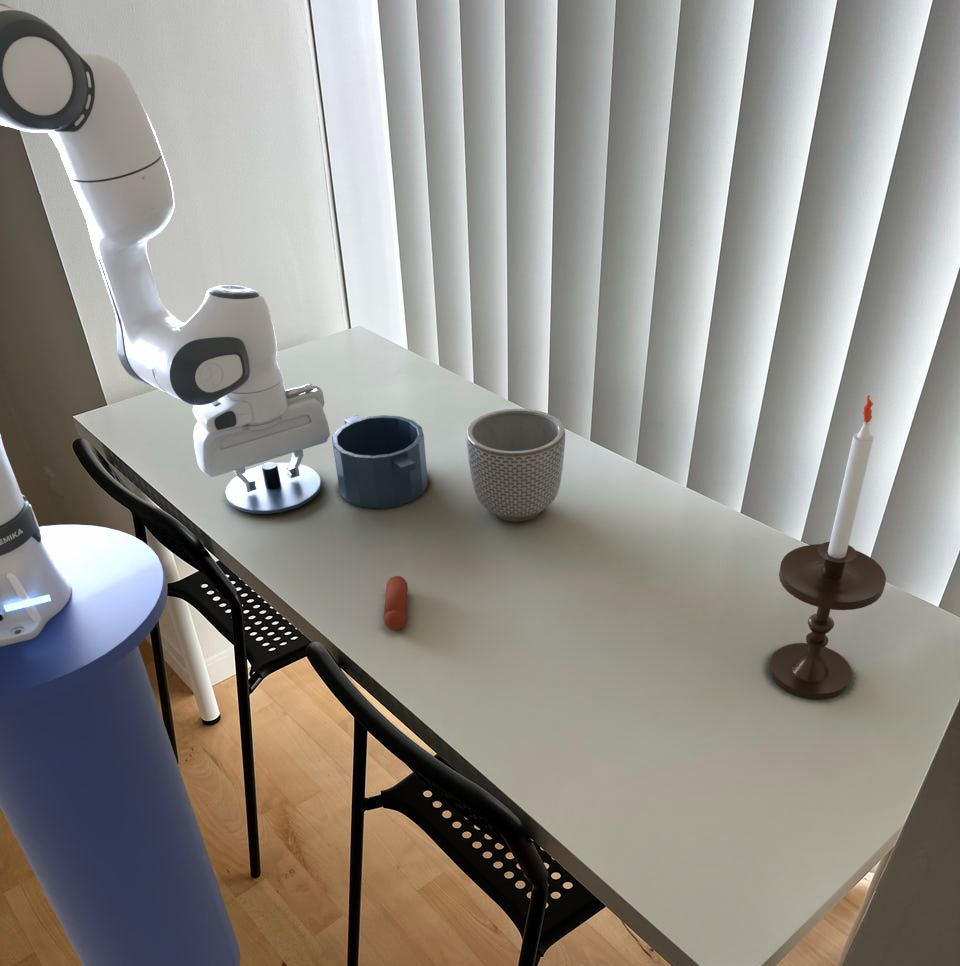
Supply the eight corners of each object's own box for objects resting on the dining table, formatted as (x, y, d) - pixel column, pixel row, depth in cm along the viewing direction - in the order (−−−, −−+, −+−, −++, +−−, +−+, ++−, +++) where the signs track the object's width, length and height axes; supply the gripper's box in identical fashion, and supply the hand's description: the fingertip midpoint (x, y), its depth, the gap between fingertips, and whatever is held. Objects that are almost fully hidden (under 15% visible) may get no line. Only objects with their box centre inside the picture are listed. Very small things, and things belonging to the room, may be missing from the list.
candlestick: (810, 717, 109) (879, 430, 87) (741, 665, 116) (789, 387, 94) (878, 681, 113) (960, 398, 91) (808, 633, 120) (868, 359, 98)
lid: (247, 528, 144) (241, 500, 141) (213, 486, 154) (207, 460, 151) (337, 498, 150) (333, 470, 147) (299, 460, 160) (294, 434, 157)
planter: (583, 506, 145) (585, 426, 137) (520, 546, 137) (519, 464, 129) (513, 476, 153) (512, 399, 144) (450, 513, 145) (445, 433, 137)
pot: (371, 526, 143) (365, 474, 138) (318, 473, 156) (310, 424, 151) (452, 498, 148) (448, 447, 143) (393, 449, 161) (388, 401, 156)
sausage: (408, 631, 123) (400, 614, 121) (388, 637, 123) (379, 620, 122) (411, 585, 130) (403, 569, 129) (391, 591, 131) (383, 575, 129)
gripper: (312, 373, 148) (325, 455, 157) (181, 409, 140) (202, 493, 149) (329, 388, 144) (342, 471, 153) (195, 426, 136) (216, 511, 145)
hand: (272, 482), depth 151 cm, fingers open, 6 cm apart
